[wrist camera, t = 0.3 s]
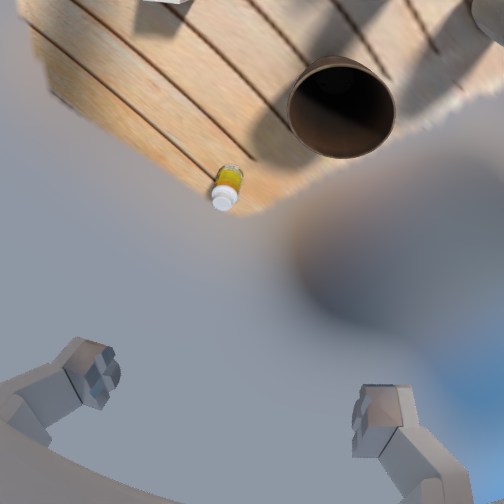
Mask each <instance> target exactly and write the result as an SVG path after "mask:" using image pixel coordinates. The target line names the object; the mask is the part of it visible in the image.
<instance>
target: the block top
mask: <svg viewBox="0 0 504 504" xmlns="http://www.w3.org/2000/svg"><path fill="white" fill-rule="evenodd" d="M145 1H156V2H165V3H174V4H181V3H183V2H186V1H188V0H145Z"/></svg>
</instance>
